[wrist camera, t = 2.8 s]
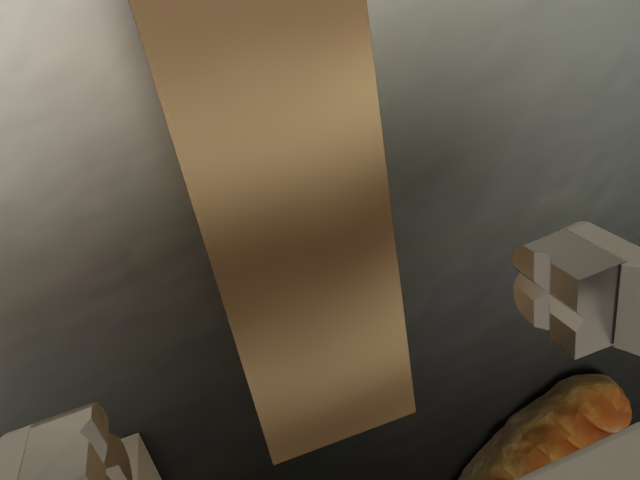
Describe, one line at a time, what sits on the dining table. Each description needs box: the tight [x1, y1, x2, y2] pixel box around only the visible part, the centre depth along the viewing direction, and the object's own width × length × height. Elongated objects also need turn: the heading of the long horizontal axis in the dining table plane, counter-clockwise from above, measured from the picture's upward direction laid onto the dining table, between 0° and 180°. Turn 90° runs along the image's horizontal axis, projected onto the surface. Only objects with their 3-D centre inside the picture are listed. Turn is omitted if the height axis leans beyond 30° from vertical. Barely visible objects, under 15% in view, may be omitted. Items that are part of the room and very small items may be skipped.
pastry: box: [458, 374, 632, 480], centre depth 25 cm, size 9×7×4 cm
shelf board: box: [128, 0, 416, 465], centre depth 16 cm, size 14×5×4 cm, turn 10°
